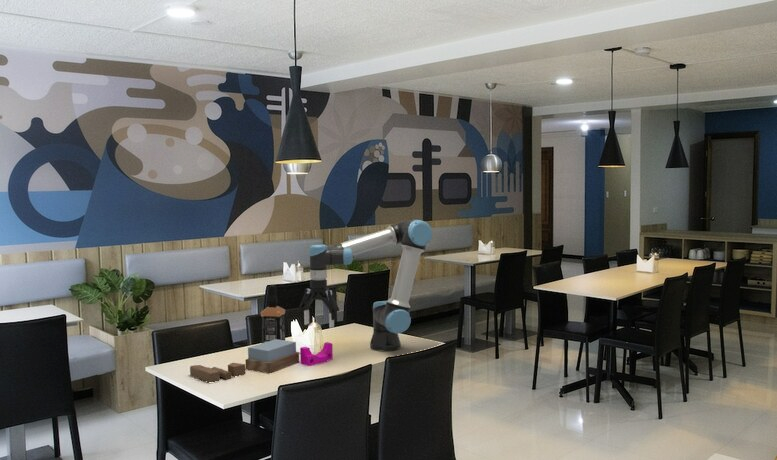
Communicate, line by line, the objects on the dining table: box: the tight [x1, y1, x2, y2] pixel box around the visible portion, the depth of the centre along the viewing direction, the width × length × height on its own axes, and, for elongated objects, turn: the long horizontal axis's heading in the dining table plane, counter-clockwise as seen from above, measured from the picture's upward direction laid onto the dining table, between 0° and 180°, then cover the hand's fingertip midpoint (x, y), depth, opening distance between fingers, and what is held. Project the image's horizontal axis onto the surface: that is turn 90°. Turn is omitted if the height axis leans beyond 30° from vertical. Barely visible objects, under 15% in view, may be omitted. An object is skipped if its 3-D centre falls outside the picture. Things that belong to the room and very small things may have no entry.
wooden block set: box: [189, 362, 246, 383], centre depth 274 cm, size 17×6×18 cm
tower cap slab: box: [247, 339, 297, 362], centre depth 288 cm, size 12×18×5 cm, turn 147°
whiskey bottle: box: [260, 284, 286, 344], centre depth 314 cm, size 10×10×32 cm
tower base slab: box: [245, 351, 300, 374], centre depth 288 cm, size 14×20×5 cm
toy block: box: [299, 341, 334, 367], centre depth 293 cm, size 15×6×8 cm, turn 129°
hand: (319, 325), depth 291 cm, fingers open, 13 cm apart
